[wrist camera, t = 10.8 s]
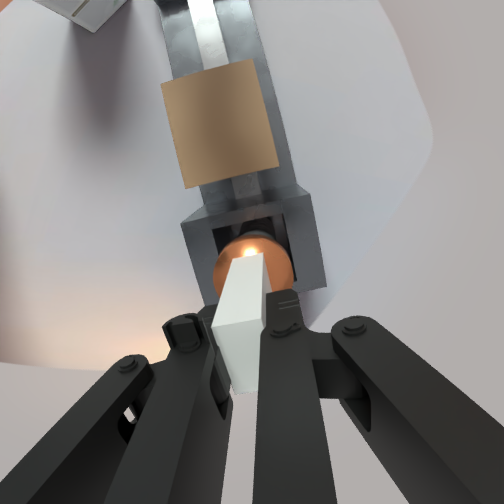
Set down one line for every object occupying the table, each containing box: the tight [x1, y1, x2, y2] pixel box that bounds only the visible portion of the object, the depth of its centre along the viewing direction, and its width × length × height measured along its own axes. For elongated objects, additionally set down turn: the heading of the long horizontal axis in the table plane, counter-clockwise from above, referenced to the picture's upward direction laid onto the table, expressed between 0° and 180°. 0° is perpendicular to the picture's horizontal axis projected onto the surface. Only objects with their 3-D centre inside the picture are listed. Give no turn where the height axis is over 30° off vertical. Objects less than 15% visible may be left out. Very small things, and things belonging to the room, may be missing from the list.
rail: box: [154, 0, 327, 306], centre depth 21 cm, size 8×29×9 cm, turn 13°
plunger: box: [213, 217, 293, 298], centre depth 21 cm, size 4×4×10 cm
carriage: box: [161, 59, 279, 189], centre depth 20 cm, size 5×6×10 cm
